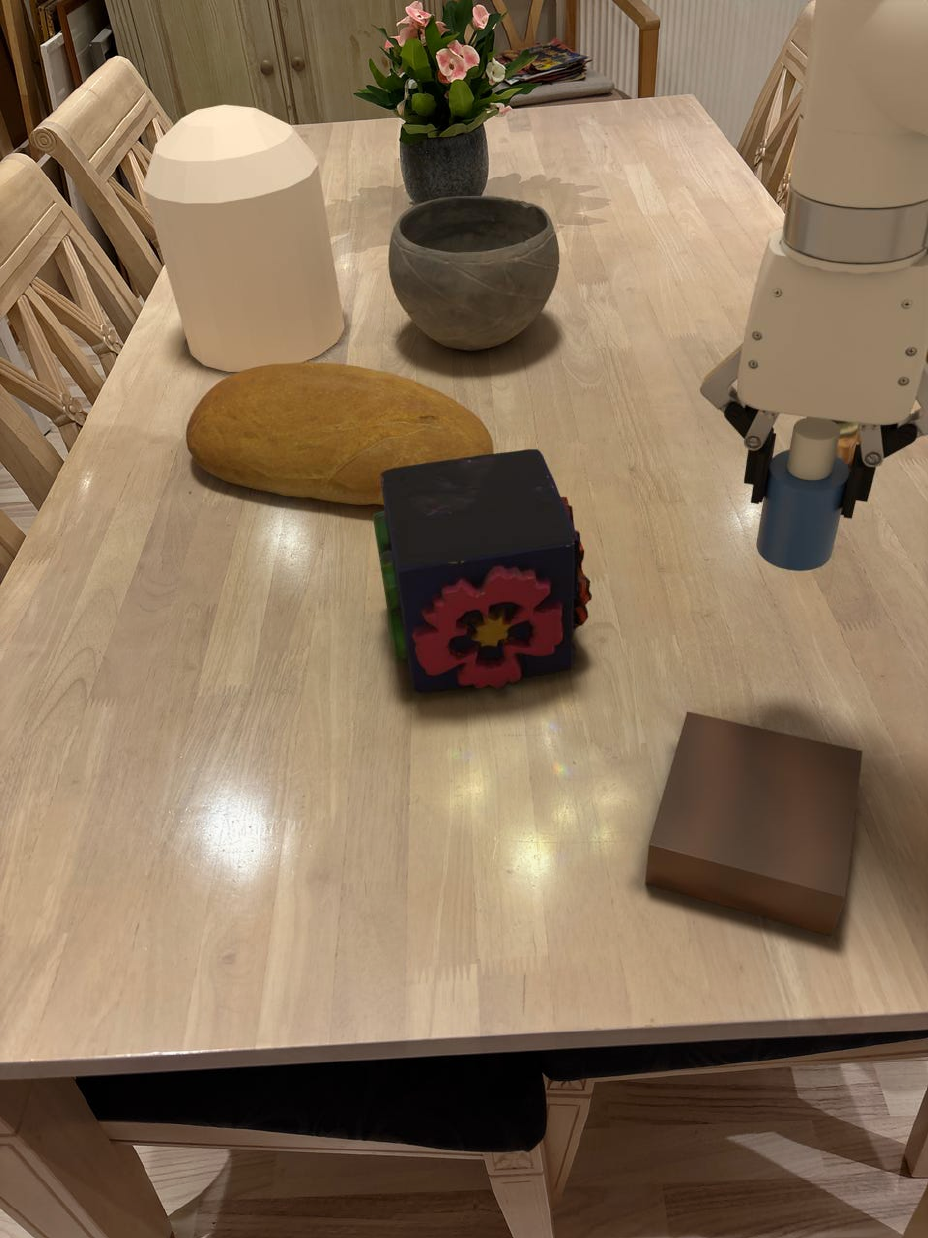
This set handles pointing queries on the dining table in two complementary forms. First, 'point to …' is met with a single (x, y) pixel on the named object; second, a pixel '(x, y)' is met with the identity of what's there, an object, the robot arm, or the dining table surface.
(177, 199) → the container
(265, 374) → the bread
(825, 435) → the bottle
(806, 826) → the block
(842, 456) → the ornament
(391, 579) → the decorative cube
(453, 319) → the bowl
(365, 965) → the dining table surface
